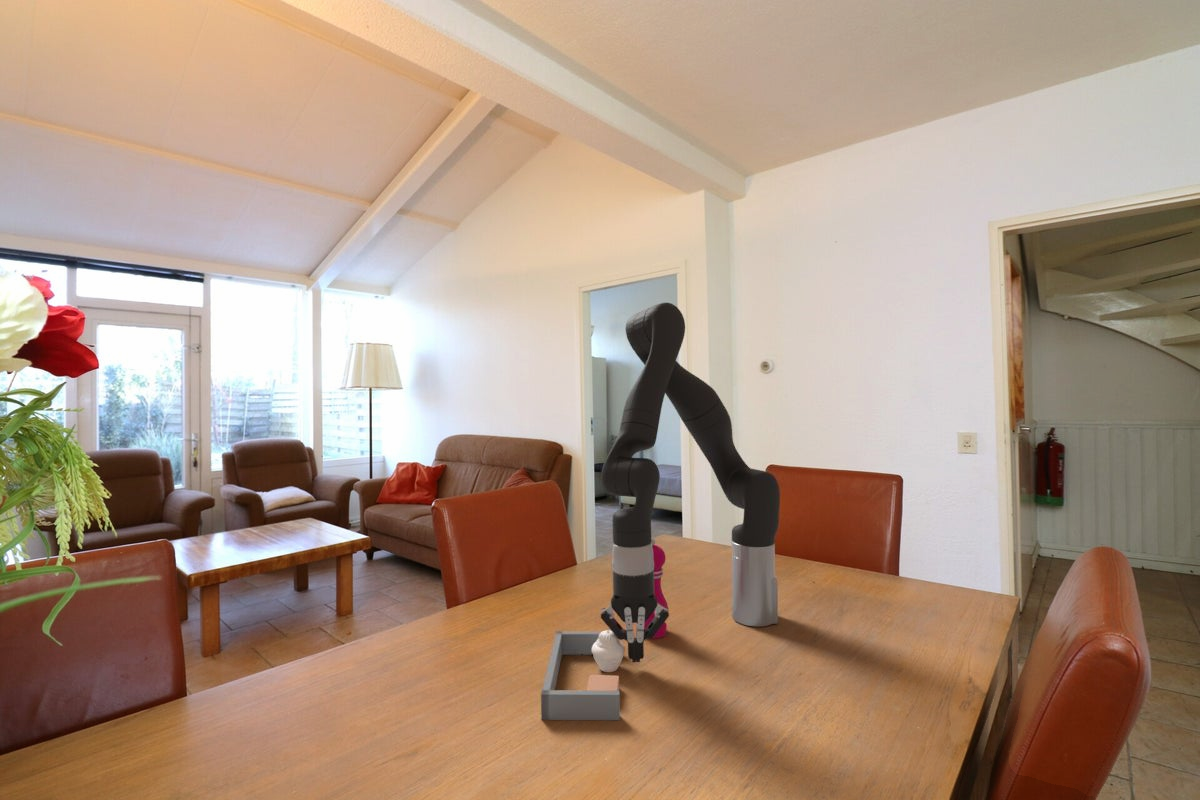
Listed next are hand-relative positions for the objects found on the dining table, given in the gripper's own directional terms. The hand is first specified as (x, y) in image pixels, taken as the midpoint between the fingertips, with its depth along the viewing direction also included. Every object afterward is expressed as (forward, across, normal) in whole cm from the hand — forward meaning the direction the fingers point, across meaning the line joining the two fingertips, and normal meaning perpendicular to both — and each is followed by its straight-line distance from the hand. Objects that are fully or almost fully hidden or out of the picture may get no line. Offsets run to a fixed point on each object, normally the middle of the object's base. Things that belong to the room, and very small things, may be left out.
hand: (635, 660), depth 102 cm
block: (+2, +6, +9) cm, 11 cm away
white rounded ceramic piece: (+2, +5, 0) cm, 5 cm away
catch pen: (+1, +9, +4) cm, 10 cm away
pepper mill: (+2, -4, -15) cm, 16 cm away
